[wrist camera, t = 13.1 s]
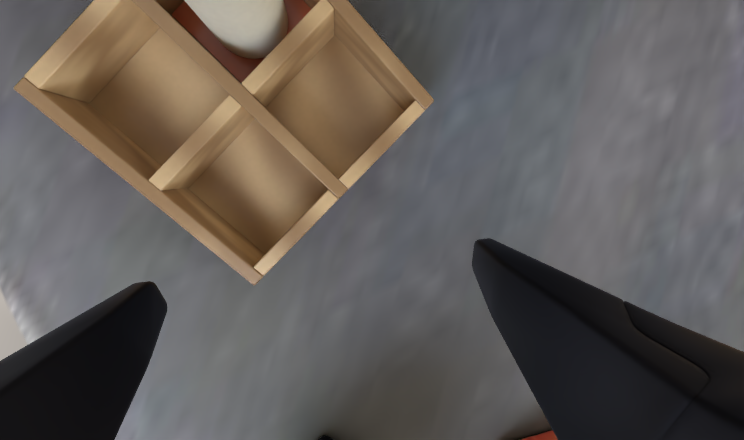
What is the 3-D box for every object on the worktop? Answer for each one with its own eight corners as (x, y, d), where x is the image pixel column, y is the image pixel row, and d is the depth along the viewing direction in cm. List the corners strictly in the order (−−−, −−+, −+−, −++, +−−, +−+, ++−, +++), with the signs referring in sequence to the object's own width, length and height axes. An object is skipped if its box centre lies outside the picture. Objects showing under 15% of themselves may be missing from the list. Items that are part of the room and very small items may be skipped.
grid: (267, 268, 20) (253, 286, 17) (73, 104, 17) (11, 88, 14) (418, 112, 20) (435, 100, 16) (246, -80, 17) (224, -143, 14)
